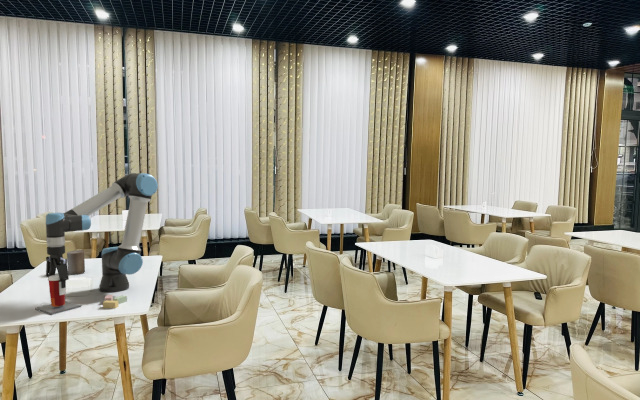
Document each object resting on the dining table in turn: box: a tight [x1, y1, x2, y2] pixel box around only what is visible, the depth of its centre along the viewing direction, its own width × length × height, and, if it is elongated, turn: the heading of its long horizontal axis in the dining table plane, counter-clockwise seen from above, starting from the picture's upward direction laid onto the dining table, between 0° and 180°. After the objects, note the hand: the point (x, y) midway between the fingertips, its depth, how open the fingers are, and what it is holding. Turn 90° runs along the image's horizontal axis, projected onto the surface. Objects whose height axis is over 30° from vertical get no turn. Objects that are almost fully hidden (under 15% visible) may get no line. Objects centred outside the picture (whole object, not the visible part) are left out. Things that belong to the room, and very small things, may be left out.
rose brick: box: [104, 294, 114, 301], centre depth 234 cm, size 6×3×3 cm, turn 17°
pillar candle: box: [66, 249, 86, 275], centre depth 295 cm, size 10×10×15 cm
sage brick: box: [113, 294, 128, 305], centre depth 233 cm, size 6×3×3 cm, turn 156°
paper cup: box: [47, 274, 66, 307], centre depth 223 cm, size 8×8×14 cm
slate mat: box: [34, 300, 82, 316], centre depth 224 cm, size 14×14×1 cm
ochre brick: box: [102, 300, 119, 309], centre depth 226 cm, size 6×3×3 cm, turn 85°
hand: (57, 293), depth 223 cm, fingers closed on paper cup, 8 cm apart
